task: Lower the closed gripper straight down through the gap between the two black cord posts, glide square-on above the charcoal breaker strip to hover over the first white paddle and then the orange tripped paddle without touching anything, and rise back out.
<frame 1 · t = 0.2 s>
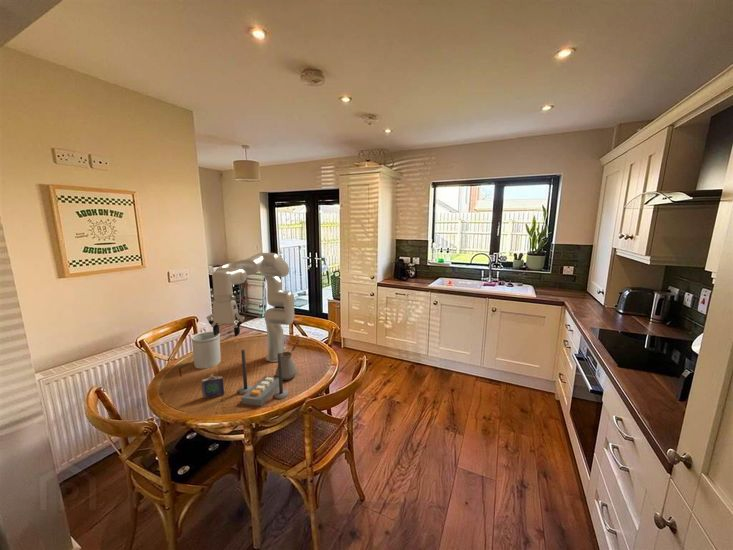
hand: (226, 334, 131), 32 cm above the table, tool pointing down, fingers open, 9 cm apart
utensil holder: (208, 363, 172), on the table
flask: (213, 396, 138), on the table
coffee pot: (291, 372, 162), on the table
breaker strip: (263, 392, 141), on the table
cord post 1: (245, 390, 143), on the table
cord post 2: (281, 395, 139), on the table
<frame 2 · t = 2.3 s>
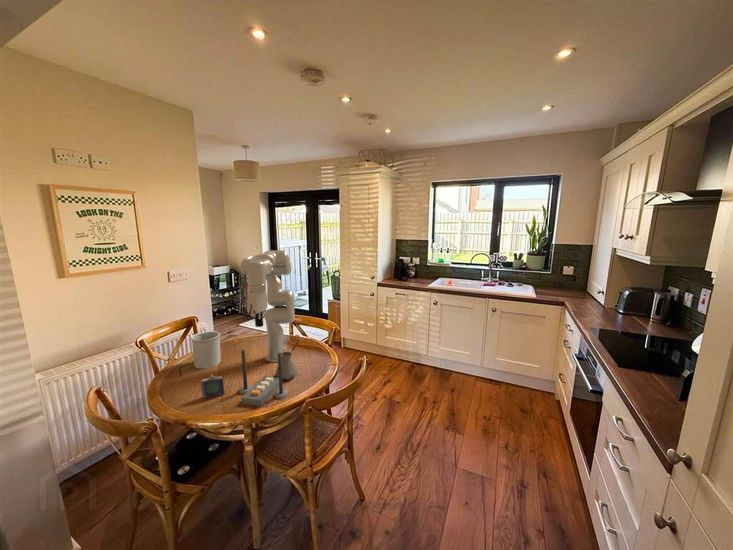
hand: (259, 326, 135), 34 cm above the table, tool pointing down, fingers closed
nothing on the table moved.
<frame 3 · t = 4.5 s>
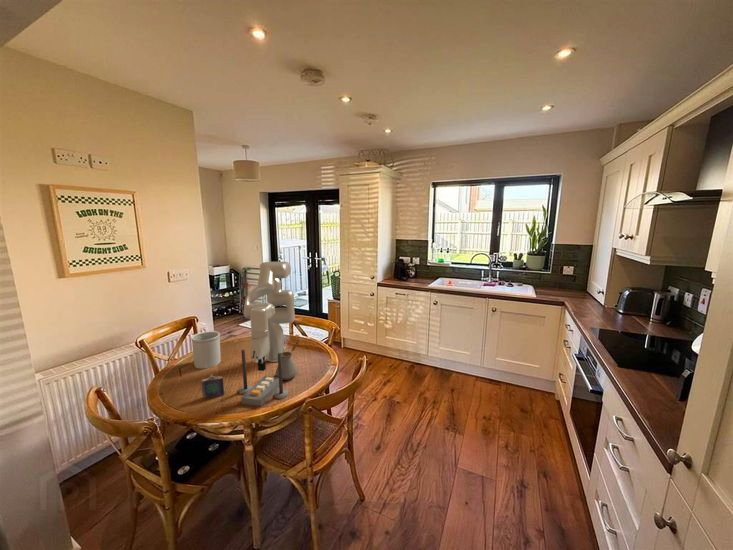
hand: (261, 369, 139), 12 cm above the table, tool pointing down, fingers closed
nothing on the table moved.
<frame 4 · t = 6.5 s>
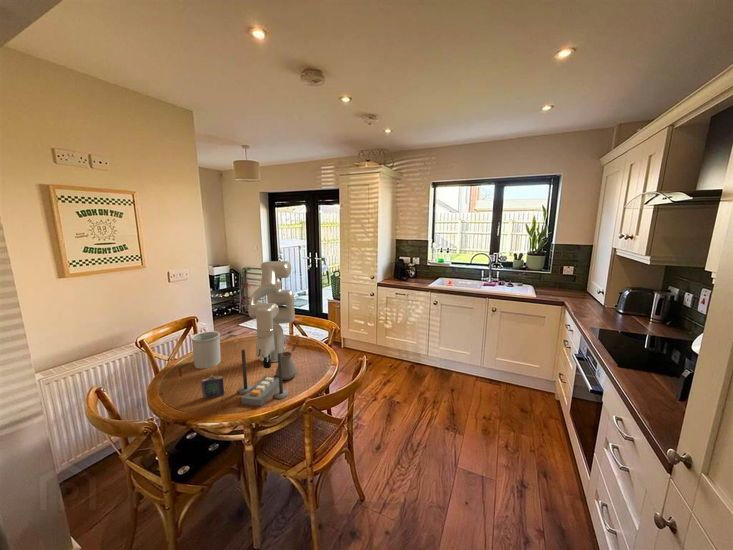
hand: (267, 367, 144), 11 cm above the table, tool pointing down, fingers closed
nothing on the table moved.
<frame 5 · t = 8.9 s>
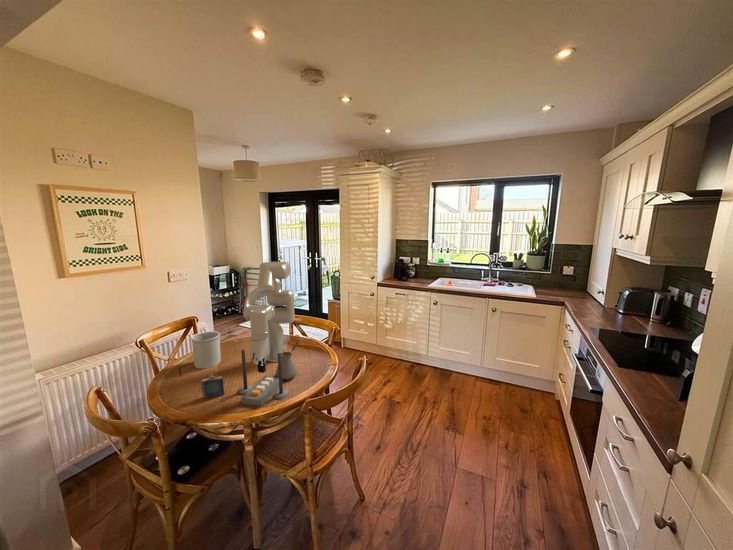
hand: (261, 371, 139), 11 cm above the table, tool pointing down, fingers closed
nothing on the table moved.
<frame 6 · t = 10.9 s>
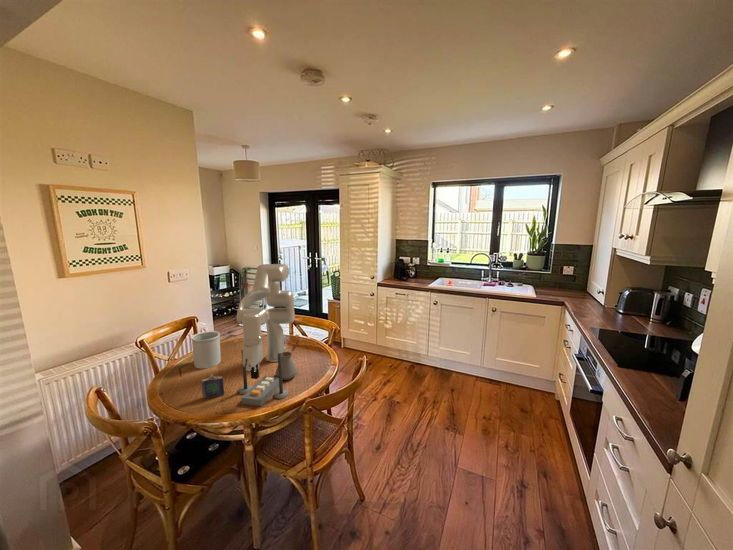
hand: (255, 377, 133), 11 cm above the table, tool pointing down, fingers closed
nothing on the table moved.
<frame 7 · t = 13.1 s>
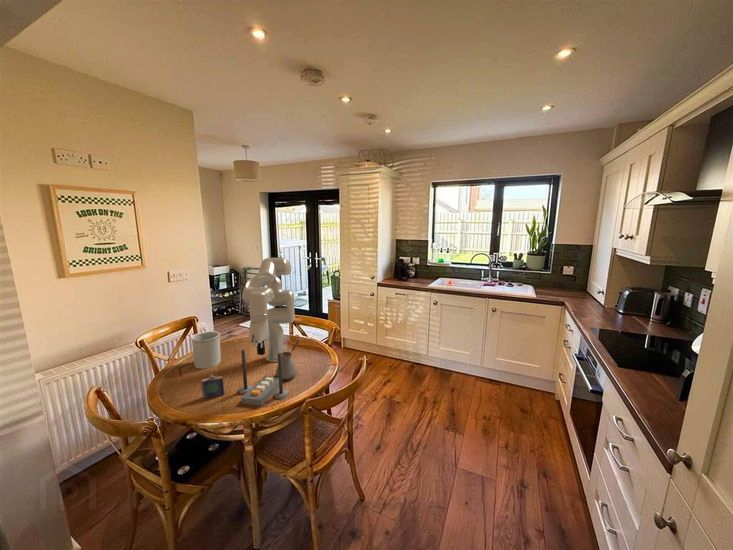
hand: (261, 354, 138), 20 cm above the table, tool pointing down, fingers closed
nothing on the table moved.
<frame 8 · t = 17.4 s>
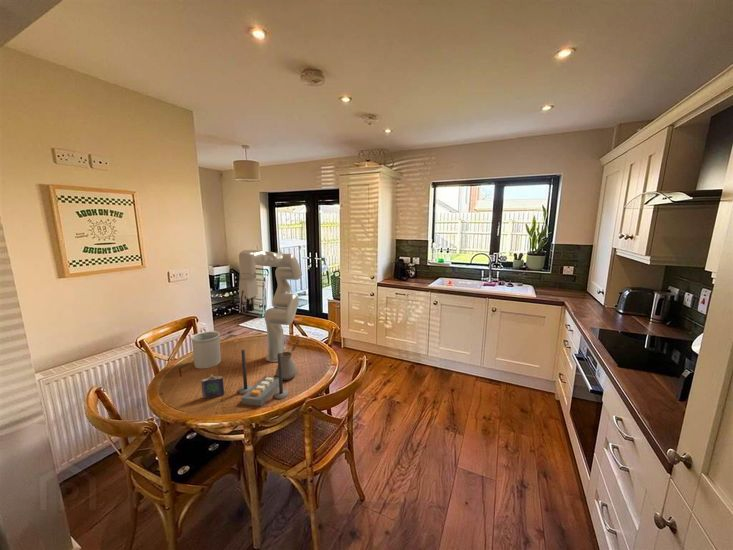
hand: (250, 310, 150), 37 cm above the table, tool pointing down, fingers closed
nothing on the table moved.
at the end: cord post 2 moved 0.0 cm from its start; cord post 1 moved 0.0 cm from its start; cord post 1 tilted 0° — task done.
